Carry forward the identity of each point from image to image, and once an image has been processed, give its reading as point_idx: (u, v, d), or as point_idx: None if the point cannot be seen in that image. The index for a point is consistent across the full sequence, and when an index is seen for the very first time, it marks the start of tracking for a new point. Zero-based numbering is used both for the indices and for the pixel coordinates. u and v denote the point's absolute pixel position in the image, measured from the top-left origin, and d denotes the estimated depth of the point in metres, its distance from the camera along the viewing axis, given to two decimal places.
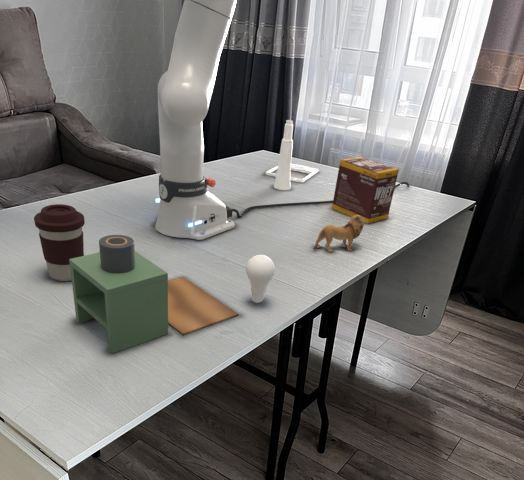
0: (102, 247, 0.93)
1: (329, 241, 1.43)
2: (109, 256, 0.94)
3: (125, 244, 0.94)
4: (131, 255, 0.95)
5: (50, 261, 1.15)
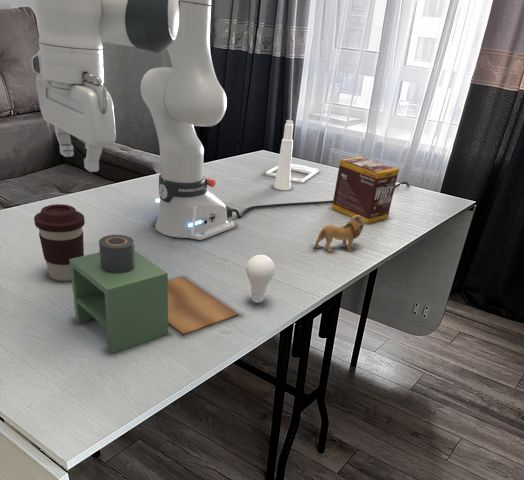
0: (102, 247, 0.93)
1: (329, 241, 1.43)
2: (109, 256, 0.94)
3: (125, 244, 0.94)
4: (131, 255, 0.95)
5: (50, 261, 1.15)
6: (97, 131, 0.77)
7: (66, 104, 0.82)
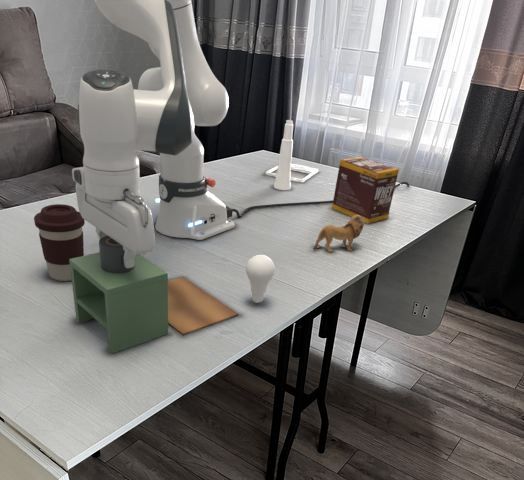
0: (102, 247, 0.93)
1: (329, 241, 1.43)
2: (109, 256, 0.94)
3: None
4: None
5: (50, 261, 1.15)
6: (140, 242, 0.86)
7: (107, 212, 0.91)
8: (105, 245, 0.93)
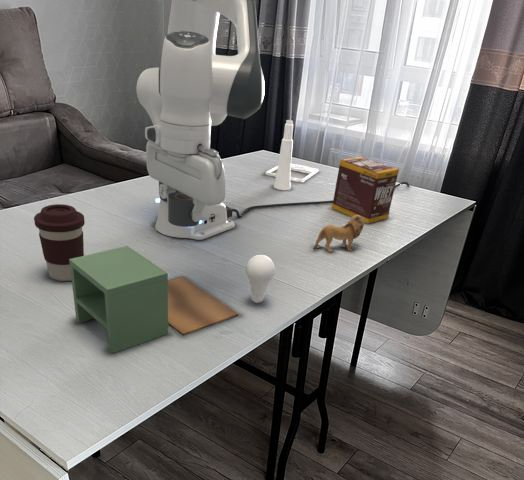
0: (172, 201, 1.00)
1: (329, 241, 1.43)
2: (178, 210, 1.00)
3: None
4: None
5: (50, 261, 1.15)
6: (212, 193, 0.93)
7: (178, 168, 0.97)
8: (175, 199, 0.99)
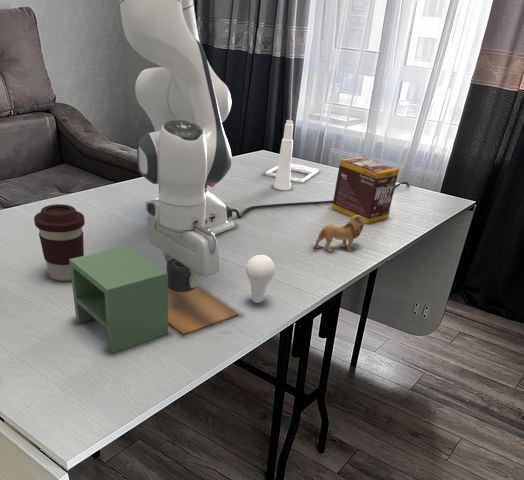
0: (170, 270, 1.07)
1: (329, 241, 1.43)
2: (176, 277, 1.08)
3: None
4: None
5: (50, 261, 1.15)
6: (207, 267, 1.00)
7: (176, 240, 1.05)
8: (173, 268, 1.07)
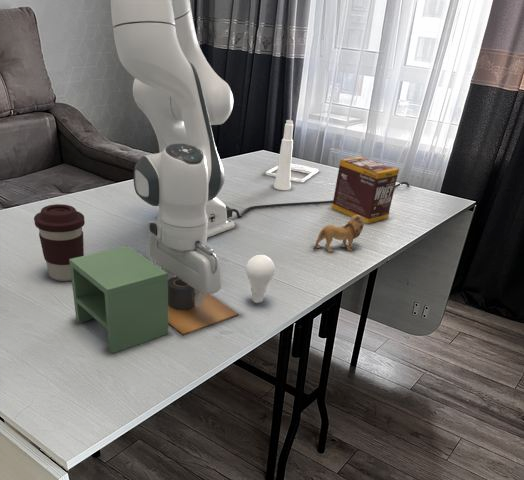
0: (171, 288, 1.10)
1: (329, 241, 1.43)
2: (176, 296, 1.10)
3: (189, 285, 1.10)
4: (194, 294, 1.12)
5: (50, 261, 1.15)
6: (209, 286, 1.03)
7: (178, 259, 1.07)
8: (173, 287, 1.09)
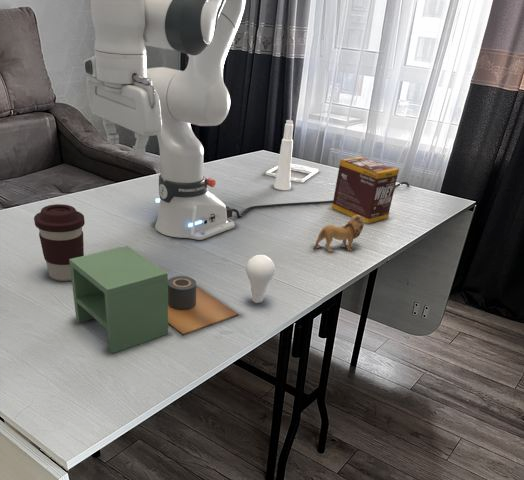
0: (171, 288, 1.10)
1: (329, 241, 1.43)
2: (176, 296, 1.10)
3: (189, 285, 1.10)
4: (194, 294, 1.12)
5: (50, 261, 1.15)
6: (148, 123, 0.94)
7: (116, 100, 0.98)
8: (173, 287, 1.09)
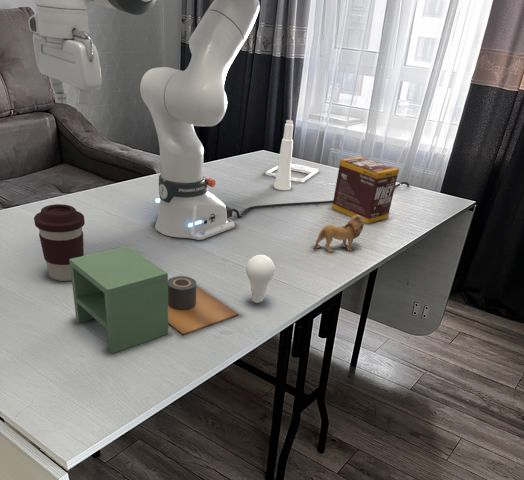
0: (171, 288, 1.10)
1: (329, 241, 1.43)
2: (176, 296, 1.10)
3: (189, 285, 1.10)
4: (194, 294, 1.12)
5: (50, 261, 1.15)
6: (86, 76, 0.96)
7: (59, 57, 1.00)
8: (173, 287, 1.09)
